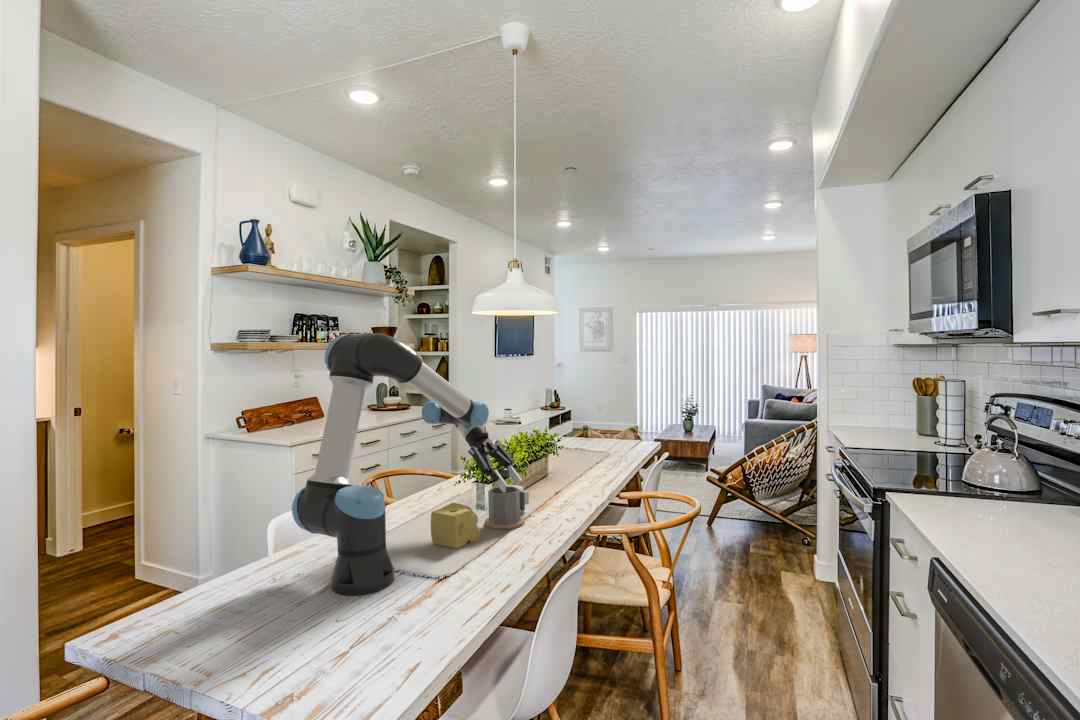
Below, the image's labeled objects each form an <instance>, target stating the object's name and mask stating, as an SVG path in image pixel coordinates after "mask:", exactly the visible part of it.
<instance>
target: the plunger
mask: <svg viewBox="0 0 1080 720" xmlns="http://www.w3.org/2000/svg"><path fill="white" fill-rule="evenodd" d="M497 471H498V473H499V474H500V475H501V477H502V478H503V480H504V481H505V482H506V480H507V479H510V476H509V468H505V467H500V468H497ZM502 494H506V488H505V489H504V490H503V491H502Z"/></svg>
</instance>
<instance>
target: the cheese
mask: <svg viewBox="0 0 1080 720" xmlns="http://www.w3.org/2000/svg"><path fill="white" fill-rule="evenodd" d="M478 522H479V517H478V515H477V513H476V512H474V511H473V509H472V508H471V507H470V506H468V505H464V504H461V503H456V502H451V503H450V504H447V505H446V506H444V507H441V508H439V509H436V510H433V511H432V512H431V513H430V536H431V541H432V542H431V543H432V544H433V545H438V546H441V545H442V546H443V547H447V548H452V549H456V550H458V549H460V548H462V547H464V546H465V545H467V543H473V542H475V541H477V540H479V539H480V528H479V527H478V525H477V524H478ZM474 540H475V541H474ZM472 541H473V542H472Z"/></svg>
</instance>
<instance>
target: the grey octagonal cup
mask: <svg viewBox="0 0 1080 720" xmlns="http://www.w3.org/2000/svg"><path fill="white" fill-rule="evenodd" d="M523 491H524V490H523ZM523 491H520V489H518V488H516V487H512V486H509V485H507V487H506V494H502V491H501V489H500V488H499V486H495V487H491V488H490V489H488V491H487V493H488V494H487V497H488V498H487V499H488V517H487V518H486V519H485V520H484V526H487V528H488V527H489V529H491V528H492V530H497V529H498V530H499V529H500V530H499V531H501V530H502V531H503V530H504V531H505V530H514V529H517V528H521V527H523V526H524V525H525V524H526V523H525V517H523V515H521V516H520V510H524V511H525V510H526V504H525V497H524V492H523Z"/></svg>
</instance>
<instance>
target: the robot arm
mask: <svg viewBox="0 0 1080 720" xmlns="http://www.w3.org/2000/svg"><path fill="white" fill-rule="evenodd" d="M423 360H424V359H423V357H422V356H421V355H420V354H419V353H418V352H417V351H415V350H414V349H413V348H411V347H410V346H409V345H407V344H405V343H404V342H402V341H401V340H399V339H397V338H395V337H393V336H390V335H388V334H385V333H380V332H378V333H377V332H376V333H349V334H344V335H343V334H342V335H339V336H337V337H336V338H334V339H333V340H331V341H330V343H329V344H328V345H327V347H326V350H325V352H324V364H325V365H326V369H327V370H328V372H329V376H328V379H329V381H331V384H332V391H331V394H330V399H329V400H330V401H329V405H328V410H327V415H326V419H325V423H324V428H323V432H322V437H321V442H320V447H319V452H318V457H317V461H316V462H317V463H316V466H315V471H314V473H313V474H312V475H310V477H308V478H307V480H306V483H305V487H303V488H301V489H299V492H297V493H296V495H295V497H294V499H293V501H292V504H291V505H292V506H291V513H292V518H293V520H294V522H295V523H296V524H297V526H298V527H299V528H300V529H302V530H304V531H307V532H308V533H311V534H314V535H315V534H317V535H324V536H327V537H331V538H336V542H337V557H336V560H335V564H334V567H333V570H332V573H331V574H332V575H331V578H330V579H331V580H330V581H331V583H330V584H331V590H332V591H333V592H334V593H336V594H340V595H343V596H359V595H367V594H371V593H375V592H379V591H381V590H383V589H385V588H387V587H388V586H390V585H391V584H392V583H393V582H394V580H395V568H394V566H393V562H392V560H391V557H390V555H389V553H388V550H387V537H386V535H387V531H386V529H387V528H386V507H387V506H386V504H385V496H384V494H383V492H382V491H381V490H380V489H378V488H376V487H373V486H370V485H359V484H358V485H354V483H353V482H352V481H351V479H350V476H349V475H350V470H351V466H352V462H353V460H352V459H353V454H354V450H355V446H356V445H355V444H356V439H357V435H358V429H359V424H360V419H361V415H362V410H363V406H364V405H363V404H364V399H365V395H366V390H367V389H369V388H372V386H373V383H374V378H375V377H386V378H390V379H393V380H394V381H396V382H397V383H400V384H407V385H409V386H410V388H413V389H414V390H415V391H417V392H418V393H420V394H421V395H422V396H424V397H425V398H426V399H428V400H429V401H427V402H425V403H424V404H423V406H422V408H421V418H422V420H423V421H424V423H427V424H429V425H438V424H439V425H441V424H443V425H453V426H455V427H456V429H457V430H458V431H459V433H460V434H461V436H462V437H463V438H464V440H465V441H466V443H467V445H468V446H469V447H470V448H469V450H468V454H469V455H470V456H471V457H472V458H473V460H474V462H475V463H476V465H477V467H478V469H479V471H480V473H481V474H482V475H485V476H486V477H489V476H490V477H491V479H492V481H493V482H494V483H495V484H496V485H497V487H499V488H500V489H501V491H503V490H504V489H505V488H506V487H507V486H508V483H506V482H505V481H506V480H505V481H504V480H503V478H502V477H501V475H500V474H499V473H498V469H494V466H493V464H492V461H491V457H492V458H494V459H495V461H496V462H498V463H499V464H500V465H501V466H502V467H503V468H509V478H510V479H511V480H512V482H513V483H514V485H516V486H517V485H519V484H520V483H521V482H522V481H523V479H522V477H520V475H519V474H518V471H517V470H516V469H515V467H514V466H513V464H514V463H515V460H514V459H513V458H512V456H511V455H510V454H509V453H508V451H506V449H505V448H504V447H503V446H502V445H501V443H500V441H499V440H495V441H492V440H491V439H490V438H489V433H488V431H487V430H486V428H485V427H484V425H485V424H486V423H487V421H488V419H489V412H490V411H489V408H488V406H487V404H486V403H485V402H480V401H473V400H472V399H471V398H469V397H468V396H467V395H465V394H464V393H463V392H462V391H461V390H459V389H457V387H455V386H454V385H453V384H451V383H450V382H449V381H448V380H446V379H445V378H443V377H442V376H441V375H440V374H439V373H437V372H436V371H435V370H433V369H432V368H431V367H430V366H429V365H427V364H426V363H425V362H423Z"/></svg>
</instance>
